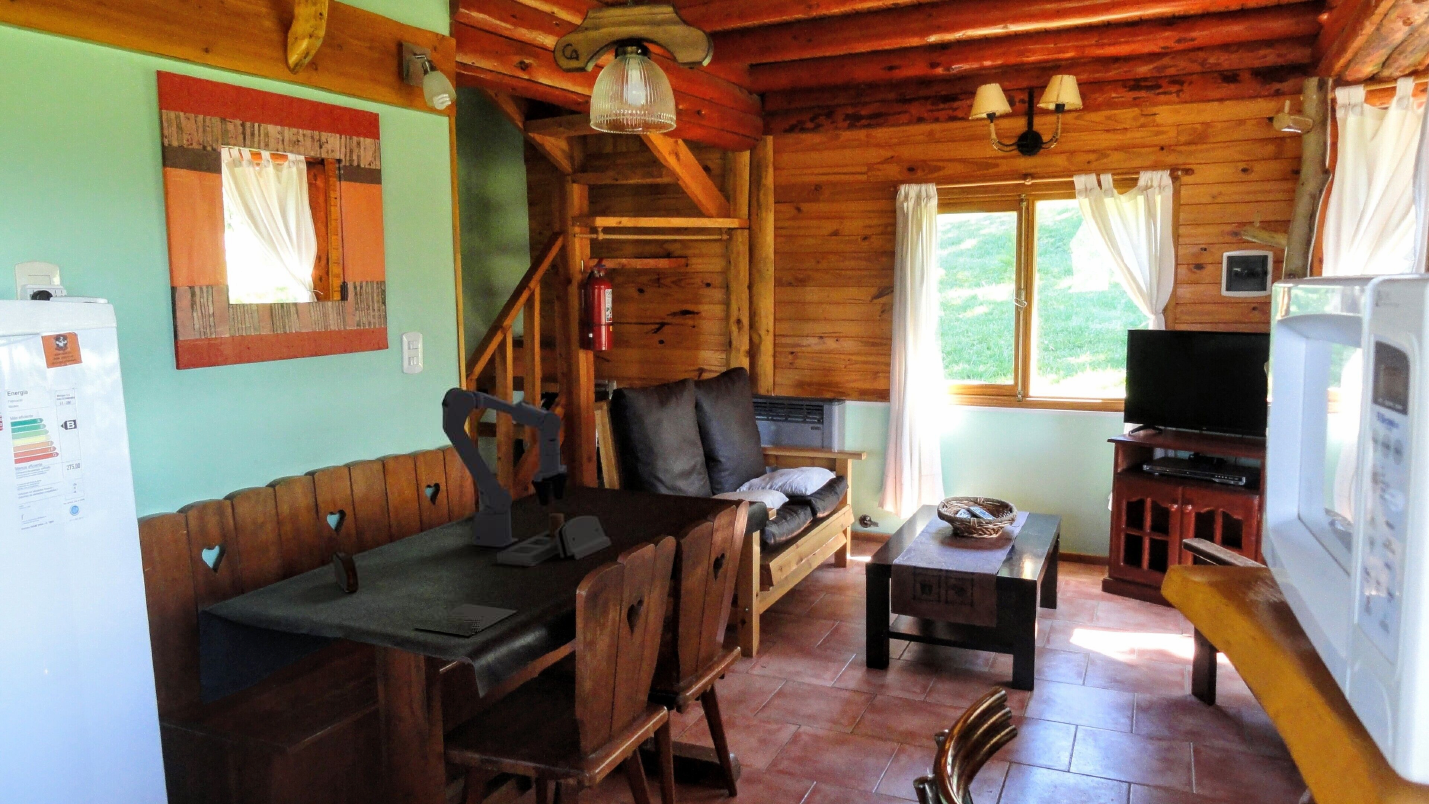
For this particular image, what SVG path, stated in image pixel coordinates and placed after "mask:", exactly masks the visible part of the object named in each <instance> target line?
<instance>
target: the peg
mask: <svg viewBox="0 0 1429 804" xmlns="http://www.w3.org/2000/svg"><path fill="white" fill-rule="evenodd" d="M564 516H565V515H564V513H559V512H556V513H550V514H548V530H549V537H553V538H556V536H555V532H556V530H557V529H558V528H559V527H560V526H561V525H563V524H564V523H565V517H564Z"/></svg>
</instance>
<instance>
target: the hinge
mask: <svg viewBox="0 0 1429 804" xmlns="http://www.w3.org/2000/svg"><path fill="white" fill-rule="evenodd" d="M601 525H602V524H601V523H600V520H599V517H597V516H594V515H581V516H576V517H574V518H571V519H569V520H567V521H566V522H564V524H563V525H561V526H560V527H559V528H558V529H557V530H556V532H555V536H556V540H557V544H558V549H559V553H558V554H559V556H560V558H561V559H563V558H565V557H570V556H573V557H574V560H579V559H581V558H584V557H585V556H588V555H591V554H593V553H595V552H597V551H599V550H602V549H604V548H606V547H609V546H611V545H612V542H611V540H610V537H608V536H606V535H605V532H604V529H603V527H602V526H601Z"/></svg>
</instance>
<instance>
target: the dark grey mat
mask: <svg viewBox="0 0 1429 804" xmlns="http://www.w3.org/2000/svg"><path fill="white" fill-rule="evenodd" d="M450 610H451V611H450ZM450 610H448V611H446V612H445V613H449V614H447V615H455V616H456V615H457V616H465V617H459V618H460V619H461V618H462V619H467V620H468V619H469V620H470V619H471V620H478V621H467V622H477V625H476V623H475V625H474V623H473V625H474V626H479V627H471V628H478V629H480V630H477V633H479V632H481V631H482V629H483V630H485V629H486V628H489V627H490V626H492V625H494V624H495V623H498V622H500V621H501V620H503V619H505V618H507V617H509V616H511V615H513V614H515V613H517V612H518V610H516V609H508V608H507V609H506V608H500V607H493V606H492V607H491V606H487V605H486V606H485V605H478V604H470V603H463V604H461V605H458V606H457V607H455V608H452V609H450ZM452 610H453V611H452ZM452 612H454V613H455V612H456V613H462V614H453V613H452ZM463 613H464V614H463ZM445 615H446V614H445ZM466 616H467V617H466ZM482 616H483V617H482ZM445 618H446V617H445ZM448 618H449V617H448ZM450 618H457V617H450ZM459 618H458V619H459ZM479 620H480V621H479ZM481 620H482V621H481ZM462 622H463V621H462ZM464 622H466V621H464ZM479 622H480V623H479ZM473 625H472V626H473ZM470 626H471V625H470ZM478 631H479V632H478ZM470 634H471V633H470ZM472 634H473V635H474V634H475V635H476V633H472Z"/></svg>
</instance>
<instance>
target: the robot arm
mask: <svg viewBox="0 0 1429 804" xmlns="http://www.w3.org/2000/svg"><path fill="white" fill-rule="evenodd" d="M441 408H442V424H441V425H442V430H443V432H444V434H445V435H446V437H447V439H448V440H449V441H450V443H451V445H452V447H453V449H454V450H455V451H456V453H457V455H458V456H459V457H460V459H461V461H462V462H463V464H464V466H465V468H466V469H467V471H468V472H469V474H470V475H471V477H472V479H473V480H474V482H475V483H476V488H477V489H478V492H479V497H480V501H481V503H482V504H483V505H484V507H483V509H481V510H479V511H477V512H476V514H475V515H474V518H473V528H474V529H473V530H474V531H473V532H474V533H473V534H474V542H472V544H473V546H484V547H493V548H494V547H496V548H505V547H507V546H509V545H511V544H513V543H515V542H517V541H519V538H515V537H513V536H512V519H511V506H512V504H513V497H512V494H511V492H510V491H508V490H506V489H505V488H503V486H502V485H501V483H500V482H499V480H498V479H496V477H495V476H494V474H493V473H492V471H491V469H490V468H489V467H488V465H487V463H486V462H485V460H484V458H483V456H482V455H481V453H480V451H479V450H478V448H477V446H475V443H474V442H473V441H472V439H471V437H470V435H469V434H468V432H467V431H466V429H465V426H466V423H467V420H468V418H469V417H470V415H471V413H472V412H473V411H474V410H481V409H484V408H487V409H491V410H494V411H497V412H500V413H502V414H506V415H509V416H511V419H512V420H513V422H515V423H518V424H521V425H525V426H527V427H530V428H533V429H537V430H538V431H537V432H538V457H539V458H538V459H539V460H538V461H539V463H538V465H539V470H537V472H535V473H534V474H532V475H533V479H532V480H531V481H530V482H531V483H530V484H531V485H532V487H533V488H534V490H535V491H536V494H537V497H538V500H539V505H540V506H549V503H550V492H551V487H552V490H553V491H552V492H553V498H554V500H557V501H558V500H559V501H561V500H563V498H564V497H563V496H564V493H565V489H566V484H567V482H568V479H569V478H570V474H569V473H567V472H568V471H567V464H561V447H560V445H561V444H560V435H559V434H560V430H561V428H562V426H563V421H562V420H561V418H560V416H559V414H557V413H556V412H553V411H549V410H548V409H546V407H544V406H541V407H538V406H535V405H533V404H531V402H530V401H528V400H524V401H521V400H520V401H518V402H516V403H511V402H509V401H506V400H503V399H501V398H498V397H496V396H493V395H490V394H487V393H484V392H481V391H476V390H470V389H463V388H461V387H452V388H450V389H448V390H447V391H446V392H445V394H444V396H443V399H442V401H441ZM548 479H550V480H548Z"/></svg>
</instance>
